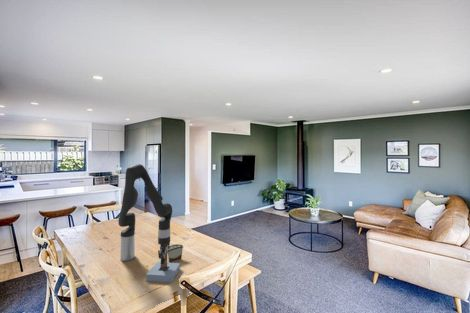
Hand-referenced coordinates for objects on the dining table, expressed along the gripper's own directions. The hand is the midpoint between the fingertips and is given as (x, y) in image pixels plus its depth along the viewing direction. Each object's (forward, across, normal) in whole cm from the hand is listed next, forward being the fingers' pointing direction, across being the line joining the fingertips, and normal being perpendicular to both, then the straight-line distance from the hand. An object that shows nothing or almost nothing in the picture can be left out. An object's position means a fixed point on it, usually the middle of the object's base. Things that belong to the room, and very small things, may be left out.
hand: (163, 262), depth 148 cm
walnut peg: (+4, 0, 0) cm, 4 cm away
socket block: (+8, 0, 0) cm, 8 cm away
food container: (+8, -21, -1) cm, 23 cm away
